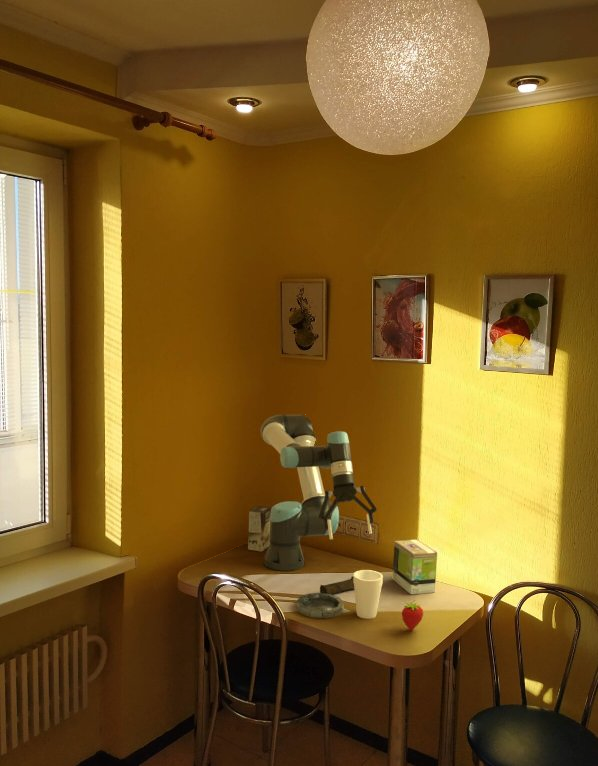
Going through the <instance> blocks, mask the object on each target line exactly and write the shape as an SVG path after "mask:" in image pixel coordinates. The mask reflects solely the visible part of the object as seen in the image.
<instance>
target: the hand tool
mask: <svg viewBox="0 0 598 766" xmlns="http://www.w3.org/2000/svg"><path fill="white" fill-rule="evenodd" d="M353 578H354V575H353V576H351V577H350V579H345V580H342V581H337V582H332V583H328V584H324V585H323V584H320V586H319V593H325V594H331V595H334V594H338V593H342V592H346V591H350V590H353V591H355V589H354V583H353Z"/></svg>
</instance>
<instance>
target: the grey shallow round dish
mask: <svg viewBox="0 0 598 766" xmlns="http://www.w3.org/2000/svg"><path fill="white" fill-rule="evenodd" d="M296 609H297V611H298V612H299V614H302V615H304V616H305V617H306V616H307V617H309V618H314V619H322V620H323V619H331V618H335V617H337V616H339V615H341V614H343V612H344V610H345V602H344V600H342V598H340V597H338V596H336V595H334V594H325V593H320V592H314V593H313V592H312V593H306V594H304V595H300V596H299V597H298V599H297V600H296Z"/></svg>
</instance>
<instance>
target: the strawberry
mask: <svg viewBox="0 0 598 766" xmlns="http://www.w3.org/2000/svg"><path fill="white" fill-rule="evenodd" d="M414 601H416V600H413V601H412V602H410V603H408V602H407V603H406V602H405V604H406V605H404V606H403V607H404V608H403V609H402V611H401V617H402V621H403V623H404V625H405V626H406V627H407V629H408V630H409V631H410V632H411V631H413V630H414V629H415V628H416V627H417V626H419V624H420V623H421V621H422V619H423V617H424V610H423V608H422V607H421V604H417V602H414ZM413 602H414V603H413Z"/></svg>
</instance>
